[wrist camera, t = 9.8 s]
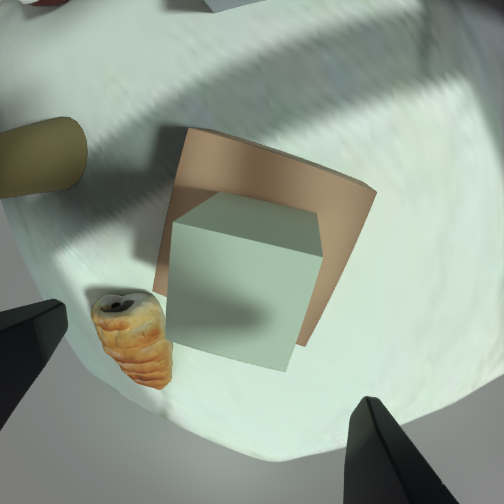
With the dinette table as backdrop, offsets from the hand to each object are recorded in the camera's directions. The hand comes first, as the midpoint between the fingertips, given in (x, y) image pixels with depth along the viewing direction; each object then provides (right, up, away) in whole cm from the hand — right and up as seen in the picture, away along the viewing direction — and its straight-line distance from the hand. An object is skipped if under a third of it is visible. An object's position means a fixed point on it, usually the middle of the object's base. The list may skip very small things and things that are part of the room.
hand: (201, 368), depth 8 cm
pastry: (-8, -4, +17) cm, 19 cm away
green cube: (+2, +3, +9) cm, 9 cm away
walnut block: (+2, +5, +12) cm, 13 cm away
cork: (-14, +11, +12) cm, 22 cm away
